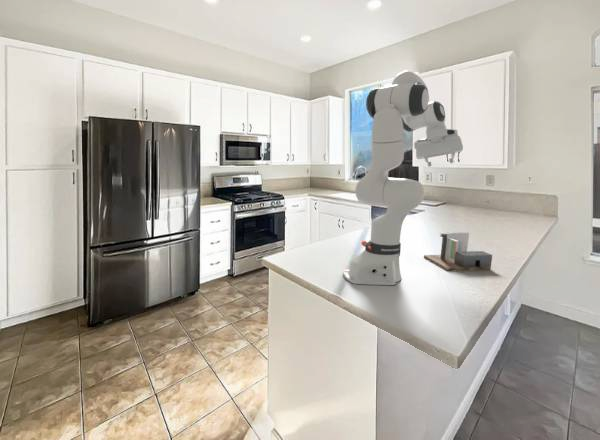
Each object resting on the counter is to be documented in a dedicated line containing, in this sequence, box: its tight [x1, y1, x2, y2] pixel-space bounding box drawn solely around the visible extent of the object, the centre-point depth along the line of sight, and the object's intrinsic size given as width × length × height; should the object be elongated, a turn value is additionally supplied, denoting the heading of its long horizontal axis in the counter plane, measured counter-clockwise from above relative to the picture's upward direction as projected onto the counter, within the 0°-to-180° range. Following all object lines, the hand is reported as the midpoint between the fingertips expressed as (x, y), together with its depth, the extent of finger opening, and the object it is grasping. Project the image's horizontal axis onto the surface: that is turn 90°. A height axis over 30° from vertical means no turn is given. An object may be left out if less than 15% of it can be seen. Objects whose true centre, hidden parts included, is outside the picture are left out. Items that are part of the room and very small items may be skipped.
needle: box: [440, 234, 447, 259], centre depth 145 cm, size 1×1×12 cm
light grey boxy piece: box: [439, 231, 470, 252], centre depth 143 cm, size 14×12×11 cm
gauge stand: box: [423, 237, 493, 272], centre depth 143 cm, size 20×19×11 cm
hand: (440, 164), depth 149 cm, fingers open, 8 cm apart
